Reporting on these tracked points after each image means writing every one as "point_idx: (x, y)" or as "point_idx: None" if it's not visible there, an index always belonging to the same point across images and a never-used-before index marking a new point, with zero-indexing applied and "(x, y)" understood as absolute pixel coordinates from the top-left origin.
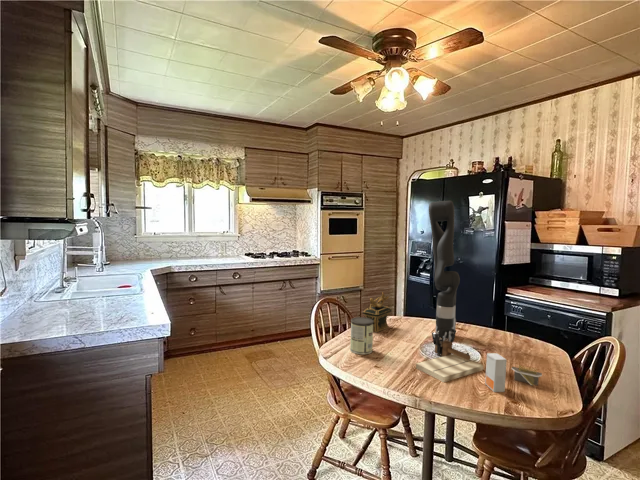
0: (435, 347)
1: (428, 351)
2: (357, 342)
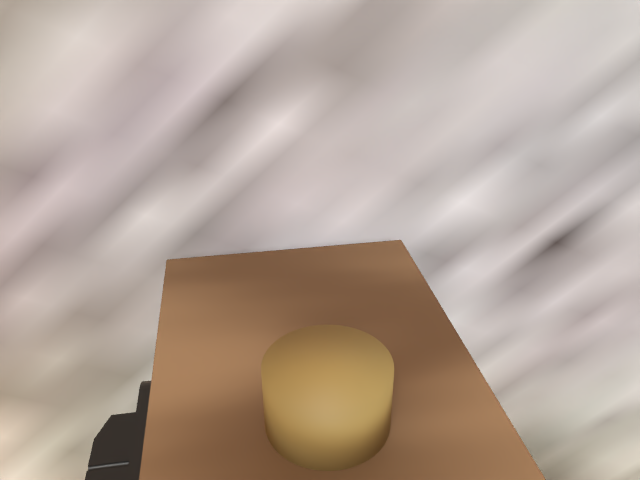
0: (158, 369)
1: (158, 4)
2: None
